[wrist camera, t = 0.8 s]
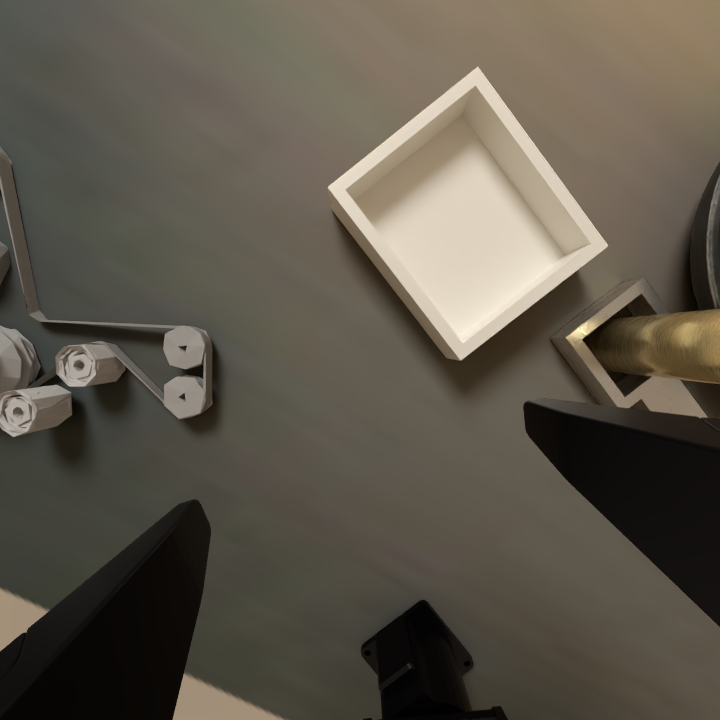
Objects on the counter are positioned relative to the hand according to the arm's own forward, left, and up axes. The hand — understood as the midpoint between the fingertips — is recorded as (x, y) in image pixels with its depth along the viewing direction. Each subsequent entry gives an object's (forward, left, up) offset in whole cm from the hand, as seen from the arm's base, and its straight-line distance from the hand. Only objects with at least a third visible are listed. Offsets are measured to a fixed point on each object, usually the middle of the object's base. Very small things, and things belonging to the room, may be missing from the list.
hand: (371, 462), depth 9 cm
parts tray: (+5, -12, -16) cm, 21 cm away
